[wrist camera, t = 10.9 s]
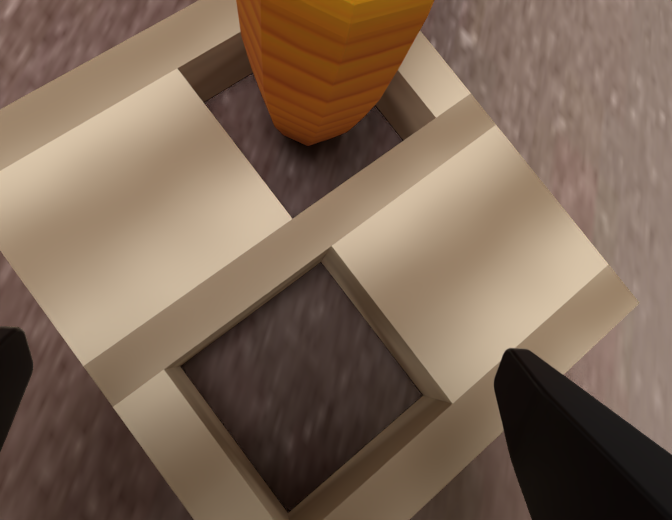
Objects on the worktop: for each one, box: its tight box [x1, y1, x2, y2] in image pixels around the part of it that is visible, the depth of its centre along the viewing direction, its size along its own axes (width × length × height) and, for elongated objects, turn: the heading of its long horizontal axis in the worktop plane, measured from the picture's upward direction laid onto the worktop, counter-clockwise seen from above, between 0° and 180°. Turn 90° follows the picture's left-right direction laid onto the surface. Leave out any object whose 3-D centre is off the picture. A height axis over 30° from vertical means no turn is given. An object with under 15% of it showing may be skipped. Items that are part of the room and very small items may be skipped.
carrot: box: [236, 0, 434, 146], centre depth 13 cm, size 5×5×15 cm
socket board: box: [0, 0, 639, 520], centre depth 18 cm, size 18×16×3 cm
